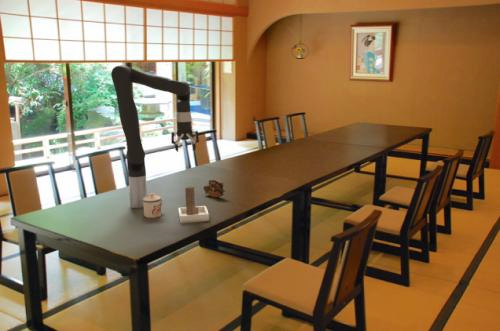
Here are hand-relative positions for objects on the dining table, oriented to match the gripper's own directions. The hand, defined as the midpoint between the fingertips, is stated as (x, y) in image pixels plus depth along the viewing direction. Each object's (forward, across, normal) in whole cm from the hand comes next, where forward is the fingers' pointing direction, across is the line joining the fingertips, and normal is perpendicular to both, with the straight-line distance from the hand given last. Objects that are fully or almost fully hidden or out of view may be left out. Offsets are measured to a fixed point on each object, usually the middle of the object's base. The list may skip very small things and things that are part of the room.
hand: (185, 151), depth 262 cm
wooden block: (+29, -1, +21) cm, 36 cm away
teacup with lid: (+30, +18, +11) cm, 37 cm away
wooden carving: (+30, -16, -13) cm, 37 cm away
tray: (+30, -1, +21) cm, 37 cm away
